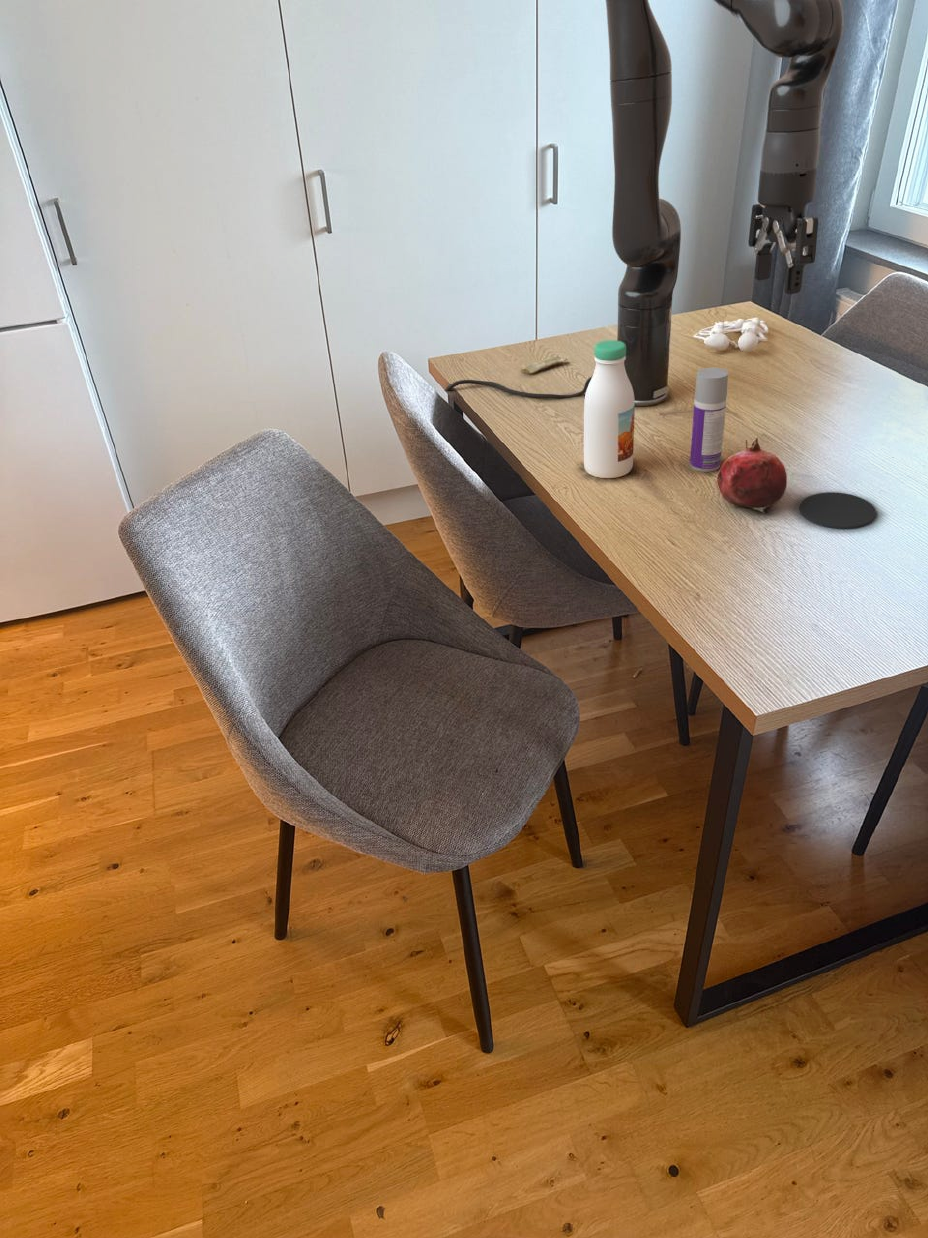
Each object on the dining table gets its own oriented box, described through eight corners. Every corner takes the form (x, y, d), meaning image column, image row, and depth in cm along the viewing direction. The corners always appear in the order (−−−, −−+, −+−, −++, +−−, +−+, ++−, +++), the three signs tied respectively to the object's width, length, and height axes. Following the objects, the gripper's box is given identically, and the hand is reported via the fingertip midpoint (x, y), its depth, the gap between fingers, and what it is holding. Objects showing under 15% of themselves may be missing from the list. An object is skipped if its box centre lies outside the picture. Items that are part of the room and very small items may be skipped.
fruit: (773, 525, 126) (782, 459, 120) (706, 511, 131) (712, 447, 125) (792, 496, 132) (801, 432, 126) (728, 484, 137) (734, 422, 131)
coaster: (790, 519, 127) (791, 517, 127) (810, 489, 134) (811, 487, 133) (865, 535, 122) (866, 532, 122) (882, 502, 129) (883, 500, 129)
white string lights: (710, 328, 198) (710, 308, 196) (779, 327, 191) (780, 307, 189) (687, 355, 184) (686, 335, 182) (760, 355, 177) (761, 334, 175)
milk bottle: (601, 484, 140) (603, 357, 128) (574, 466, 146) (573, 343, 134) (642, 470, 143) (647, 345, 131) (614, 453, 148) (616, 332, 137)
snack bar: (530, 372, 179) (521, 364, 181) (528, 378, 181) (520, 370, 182) (568, 359, 183) (559, 351, 185) (566, 365, 184) (558, 357, 186)
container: (686, 460, 144) (692, 368, 136) (715, 457, 144) (723, 365, 136) (694, 473, 141) (701, 379, 132) (724, 470, 141) (733, 376, 132)
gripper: (738, 162, 130) (730, 279, 139) (791, 176, 119) (778, 302, 128) (786, 155, 131) (775, 271, 141) (843, 168, 120) (826, 293, 129)
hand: (776, 285), depth 134 cm, fingers open, 8 cm apart
